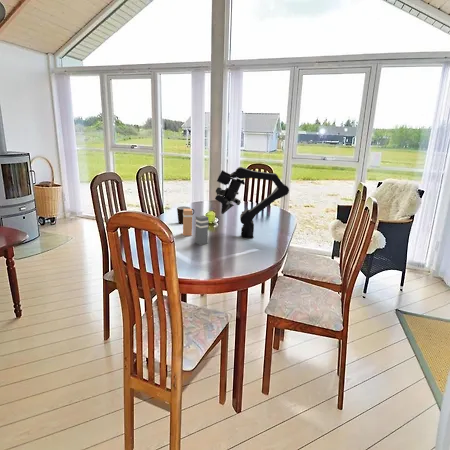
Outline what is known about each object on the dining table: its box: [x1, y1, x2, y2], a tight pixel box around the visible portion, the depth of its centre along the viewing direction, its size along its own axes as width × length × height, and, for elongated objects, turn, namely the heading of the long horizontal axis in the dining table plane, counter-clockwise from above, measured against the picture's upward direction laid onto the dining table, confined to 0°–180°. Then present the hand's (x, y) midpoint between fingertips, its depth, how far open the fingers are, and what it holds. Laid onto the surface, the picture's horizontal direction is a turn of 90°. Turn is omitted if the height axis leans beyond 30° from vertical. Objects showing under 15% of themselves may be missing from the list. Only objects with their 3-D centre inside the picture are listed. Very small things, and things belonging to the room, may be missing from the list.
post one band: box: [182, 208, 194, 236], centre depth 186 cm, size 5×5×14 cm
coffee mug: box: [176, 205, 195, 225], centre depth 213 cm, size 12×9×10 cm
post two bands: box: [194, 215, 210, 246], centre depth 173 cm, size 5×5×14 cm
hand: (222, 213), depth 192 cm, fingers closed
